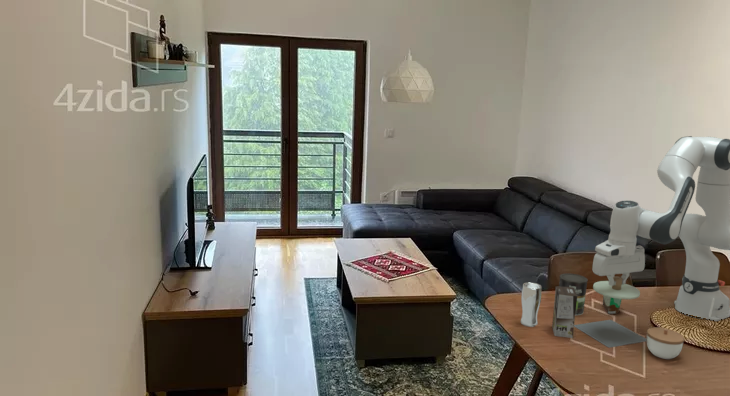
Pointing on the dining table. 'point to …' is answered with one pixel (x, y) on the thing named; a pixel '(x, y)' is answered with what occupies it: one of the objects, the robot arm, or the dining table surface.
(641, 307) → the dining table surface
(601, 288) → the lid
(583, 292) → the coffee can
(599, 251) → the robot arm
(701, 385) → the dining table surface
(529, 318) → the beer glass
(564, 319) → the coffee box
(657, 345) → the lidded jar
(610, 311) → the food container
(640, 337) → the mat
